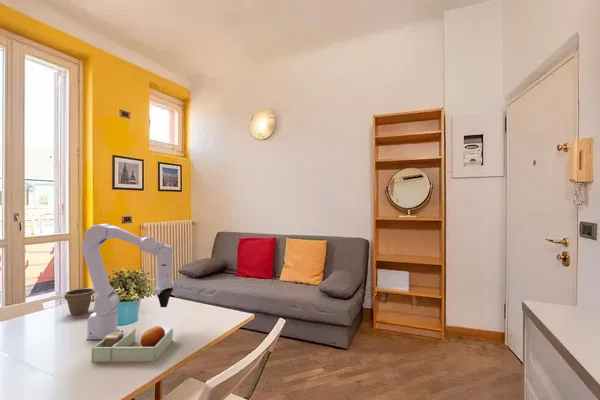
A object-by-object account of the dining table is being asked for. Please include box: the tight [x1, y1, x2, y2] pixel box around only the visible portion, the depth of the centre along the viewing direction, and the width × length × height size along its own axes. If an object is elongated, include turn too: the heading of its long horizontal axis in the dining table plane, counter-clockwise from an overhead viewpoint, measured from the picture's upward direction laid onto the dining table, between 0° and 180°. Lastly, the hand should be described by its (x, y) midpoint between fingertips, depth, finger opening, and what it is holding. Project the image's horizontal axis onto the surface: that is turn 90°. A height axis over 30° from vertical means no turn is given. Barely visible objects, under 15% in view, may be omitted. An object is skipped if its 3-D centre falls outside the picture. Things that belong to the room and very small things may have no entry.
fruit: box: [140, 326, 166, 347], centre depth 107 cm, size 8×8×8 cm
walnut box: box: [104, 331, 124, 347], centre depth 102 cm, size 4×4×6 cm
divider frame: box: [91, 328, 174, 363], centre depth 103 cm, size 21×15×4 cm
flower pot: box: [64, 287, 95, 316], centre depth 138 cm, size 12×11×10 cm
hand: (163, 306), depth 121 cm, fingers closed
